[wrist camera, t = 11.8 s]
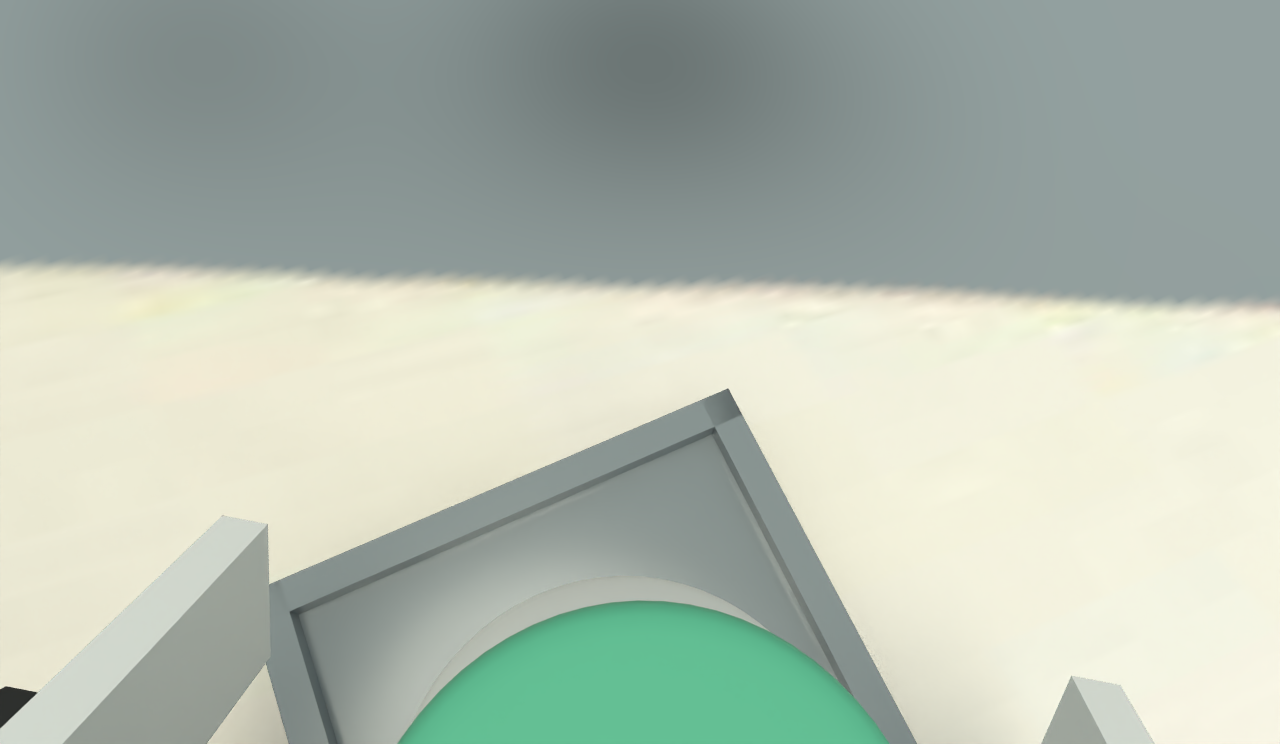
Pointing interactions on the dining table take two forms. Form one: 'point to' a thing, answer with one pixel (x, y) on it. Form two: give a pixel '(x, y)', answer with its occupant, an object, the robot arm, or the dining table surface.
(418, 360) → the dining table surface
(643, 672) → the milk bottle
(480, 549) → the tray
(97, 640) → the robot arm
